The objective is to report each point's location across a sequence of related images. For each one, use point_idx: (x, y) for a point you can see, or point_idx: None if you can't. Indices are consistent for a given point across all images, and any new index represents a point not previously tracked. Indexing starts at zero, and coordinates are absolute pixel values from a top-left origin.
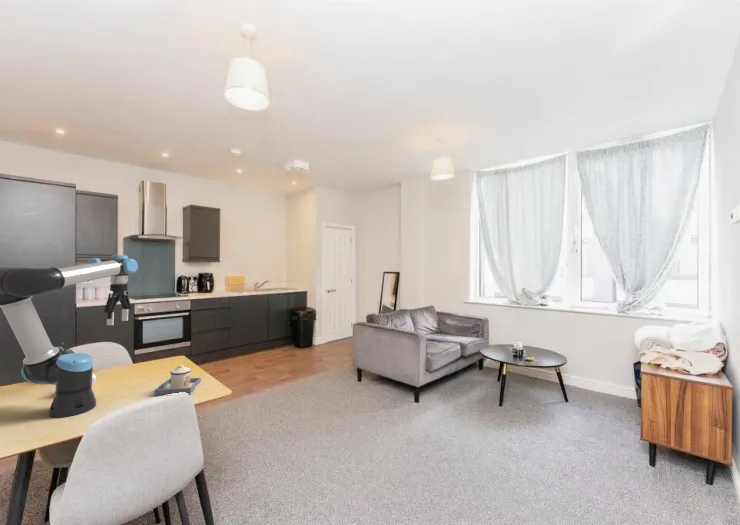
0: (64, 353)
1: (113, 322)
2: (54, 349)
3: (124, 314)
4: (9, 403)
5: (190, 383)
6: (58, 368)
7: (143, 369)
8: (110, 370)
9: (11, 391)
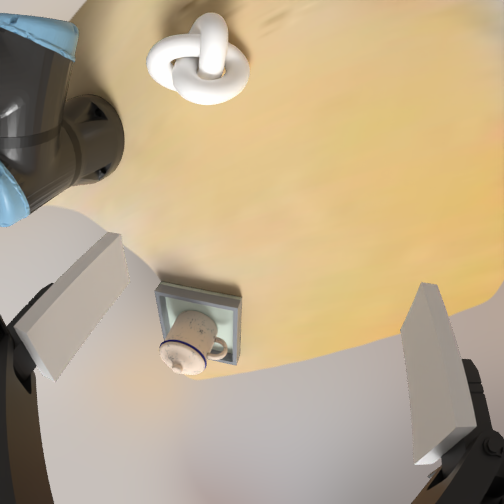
0: None
1: (116, 297)
2: None
3: (426, 373)
4: None
5: (229, 341)
6: None
7: (450, 189)
8: (474, 69)
9: None
